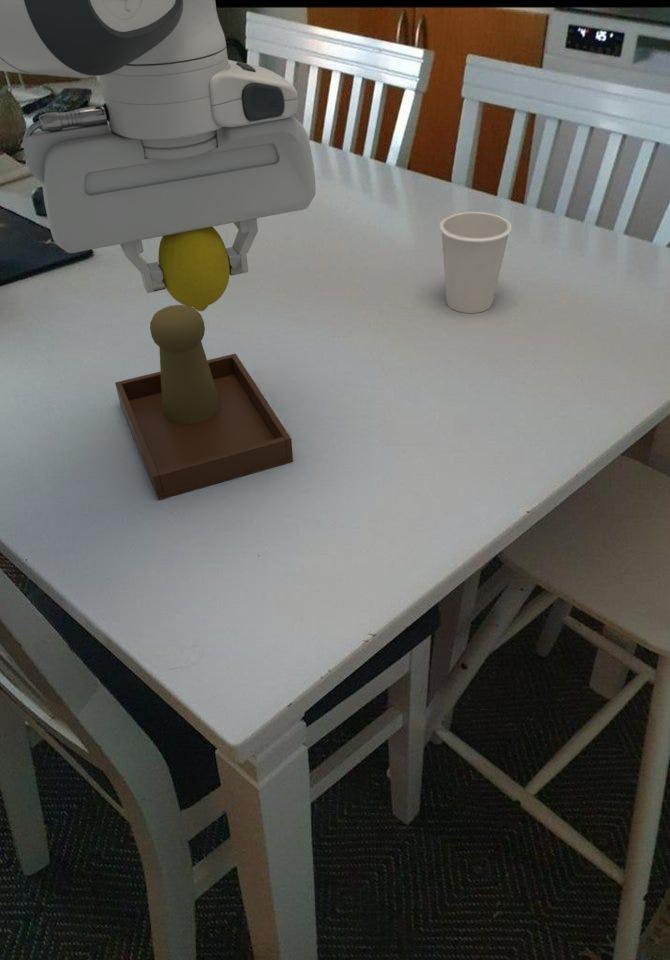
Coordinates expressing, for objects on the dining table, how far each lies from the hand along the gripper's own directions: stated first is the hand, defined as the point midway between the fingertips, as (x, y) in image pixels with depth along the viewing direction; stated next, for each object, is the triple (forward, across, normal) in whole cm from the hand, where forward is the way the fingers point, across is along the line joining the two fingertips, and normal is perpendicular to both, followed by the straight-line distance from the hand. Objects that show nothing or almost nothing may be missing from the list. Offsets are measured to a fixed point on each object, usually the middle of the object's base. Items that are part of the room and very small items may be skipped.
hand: (197, 280), depth 65 cm
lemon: (+3, 0, 0) cm, 3 cm away
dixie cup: (+19, +37, +19) cm, 46 cm away
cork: (+19, -1, +10) cm, 21 cm away
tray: (+19, -1, +6) cm, 20 cm away
